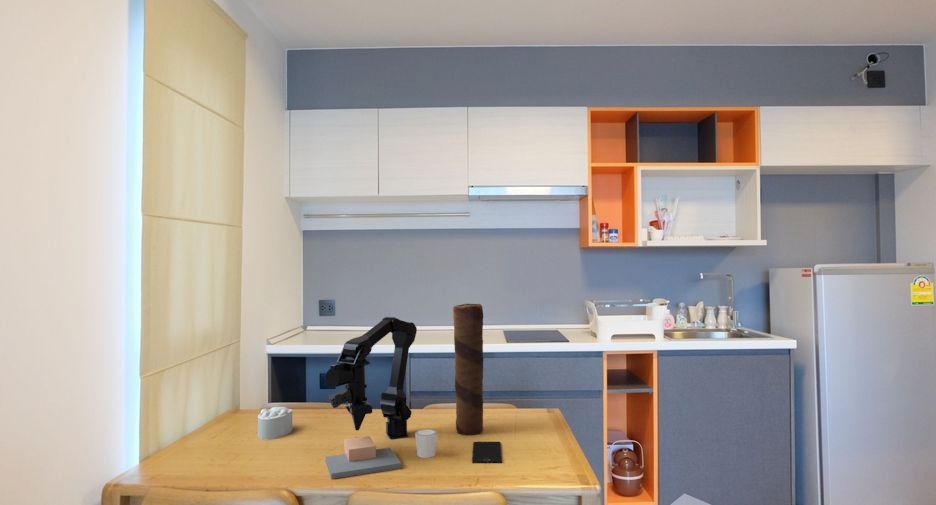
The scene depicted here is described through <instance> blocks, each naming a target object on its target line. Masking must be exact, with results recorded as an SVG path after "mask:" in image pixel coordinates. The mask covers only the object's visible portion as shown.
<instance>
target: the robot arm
mask: <svg viewBox="0 0 936 505" xmlns="http://www.w3.org/2000/svg"><path fill="white" fill-rule="evenodd" d="M417 329H418V328H417V326H416V325H415V323H414V322H412V321H411V322H409V321H405V320H401V319H399V318H396V316H395V317H393V316H386V317H383V318H382V319H381V320H380V321H379V322H378V323H377V324H376V325H374V326H373V327H371V329H369V330H368V331H367V332H365V333H364V334H363V335H360V336H357V337H353V338H351V339H349V340H347V341H345V343H344V344H343V347H342V350H341V351H340V353H339V356H338V357H337V361H336V363H333V364H330V366H329V369H328V370H327V371H326V375H325V382H326V383H327V385H328V386H329V387H330V388H333V389H334V388H338V387H342V386H344V388H342V389H340V390H338V391H336V392H334V393H331V394H329V395H328V400H329V402H330V404H331V406H332V408H333V409H336V408H338V407H339V406H342V405H344V404H347V405H346V406H345V408H346V410H347V412H348V413H349V414H350V415H351V418H352V423H353V425H354V426H353V427H354V429H355V431H360V429H361V426H362V424H363V422H364V420H365V417H366V415H369V414H373V406H372V405H371V404H370V403H369V402H368V397H367V395H366V394H367V393H366V392H367V391H366V389H367V388H368V387H367V386H368V385H367V383H366V366H368V365H370V361H369V360H368V359H366V358H367V357H369V355H370V353H371V352H372V350H373V349H372V348H373V347H374V346H375V345H376V344H378V342H380V341H381V340H382V339H383V338H384V337H386V336H387V335H389V334H390V333H391V339H392V342H393V344H394V352H393V356H392V364H391V370H390V377H389V384H388V388H387V389H386V391H382V393H381V395H380V396H381V397H380V402H379V405H380V410H381V413H382V415H383V418H385V419H387V421H386V422H385V434H386V435H387V437H388V438H389V439H390V440H392V439H400V438H406V437H409V434H408V420H409V419H411V417H412V410H411V409H410V408H409V406H408V405H407V395H406V393H405V392H404V385H405V379H406V373H407V372H406V370H407V364H408V359H409V358H408V357H409V349H410V348H411V346H412V345H413V344H414V342H415V340H416V336H417Z"/></svg>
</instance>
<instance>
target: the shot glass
mask: <svg viewBox="0 0 936 505" xmlns="http://www.w3.org/2000/svg"><path fill="white" fill-rule="evenodd" d="M414 436H415V444H416V454H417V456H418V458H423V459H427V458H432V457H435V456H436V453H437V439H438V438H437V436H438V431H437V430H435V429H430V428H429V429H428V428H425V429H423V428H422V429H419V430H417V431H415V434H414Z"/></svg>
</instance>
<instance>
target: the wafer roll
mask: <svg viewBox="0 0 936 505" xmlns="http://www.w3.org/2000/svg"><path fill="white" fill-rule="evenodd" d="M452 320H453V337H454V338H453V340H454V341H453V342H454V354H455V355H454V363H455V365H454V392H455V395H454V396H455V406H456V408H455V412H456V413H455V414H456V415H455V416H456V418H455V430H456V432H458V433H459V434H462V435H469V436H470V435H471V436H472V435H477V434H481V433H483V432H484V399H483V398H484V393H483V392H484V389H483V388H484V386H483V385H484V384H483V383H484V382H483V380H484V339H483V335H484V333H483V328H484V310H483V305H482V304H480V303H464V304H457V305H453V308H452Z"/></svg>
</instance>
